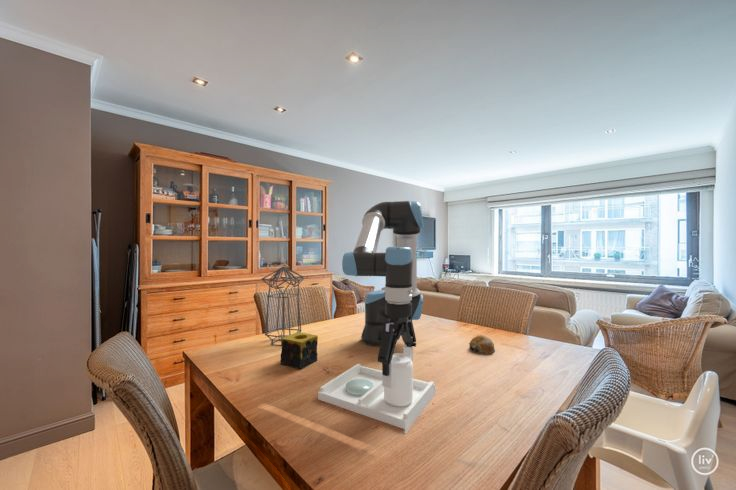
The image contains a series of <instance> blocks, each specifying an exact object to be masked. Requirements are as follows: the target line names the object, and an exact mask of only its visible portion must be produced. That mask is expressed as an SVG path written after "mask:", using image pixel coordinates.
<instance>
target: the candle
mask: <svg viewBox="0 0 736 490" xmlns="http://www.w3.org/2000/svg"><path fill="white" fill-rule="evenodd" d="M288 335H289V334H288ZM318 338H319V337H318V335H317V334H311V333H305V332H302V331H301V332H299V331H298V332H297V331H296V332H294V333H292V334H291V335H289V336H286V337H283V338H280V339H281V341H280V345H281V346H280V347H281V351H280V363H279V364H280V365H281V366H285V367H289V368H295V369H298V370H302V369H305V368H307V367H309V366H310V365H311V364H313V363H315V362H317V361H318Z"/></svg>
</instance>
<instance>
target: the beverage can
mask: <svg viewBox="0 0 736 490" xmlns="http://www.w3.org/2000/svg"><path fill="white" fill-rule="evenodd" d="M391 362H393V387H392V388H388V387H384V399H385V401H386V402H387V403H389V404H391V405H394V406H405V405H408V404H410V403H411V402H412V401H413V379H414V375H413V374H414V361H413V362H412V361H411V357H410V356H408V355H405V354H404V353H393V356H392V360H391Z"/></svg>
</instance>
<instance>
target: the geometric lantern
mask: <svg viewBox="0 0 736 490" xmlns="http://www.w3.org/2000/svg"><path fill="white" fill-rule="evenodd" d="M283 273H284V276H283ZM295 275H296V276H297V277H296V276H295ZM269 276H271V277H270V278H268V277H269ZM298 276H299V277H298ZM279 278H281V279H282V280H281V279H279ZM305 279H306V277H305V276H303V275H301V274H300V273H298V272H296V271H294V270H292V268H291V269H290V268H288V267H287V266H281V267H280V268H278V269H276V270H274V271H273V272H271V273H269V274H268V275H266V276H264V277H262V278H261V279H260V280H261V281H263V283H265V284H267V285H268V294H267V296H266V297H267V305H266V315H265V326H264V336H266V337H267V338H268V339H269V340H271V343H270V345H271V346H280V347H282V346H281V344H276V343H277V342H281V340H280V339H281V338H283V337H286V336H289V335H292V334H291V331H296V333H297V332H301V333H302V326H301V325H302V322H301V313H300V310H301V309H300V297H299V295H300V284H301V283H302V281H304V280H305ZM278 282H281V283H279V284H278ZM284 283H287V286H286V288H285V289H284V291H283V292H282V290H281V288H280V286H282V284H284ZM290 285H291V288H290V289H289V292H288V293H286V292H287V289H288V287H290ZM296 287H297V290H296ZM272 288H273V289H275V291H276V292H277V293H275V294H271V290H272ZM293 288H294V291H295V293H293V295H292V296H291V295H290V294H291V291H292V289H293ZM278 290H279V291H278ZM277 295H278V296H277ZM281 295H282V296H281ZM285 295H286V296H285ZM289 295H290V296H289ZM274 296H275V298H276V299H278V301H277V317H276V319H277V321H276V328H275V329H273V330H271V331H268V329H269V305H270V303H269V302H270V298H274ZM294 297H296V298H297V328H291V322H290V321H291V320H290V319H291V317H290V316H291V315H290V298H294ZM281 299H282V302H281V303H282V304H281V305H282V307H281V308H282V311H281V312H282V315H281V316H282V318H281V321H282V322H281V325H282V326H281V327H282V328H279V317H280V316H279V315H280V301H281ZM285 299H287V314H288V315H287V316H288V317H287V318H288V328H286V327H285V319H286V317H285V313H286V312H285V307H286V306H285V304H286V303H285ZM280 330H281V334H280V332H279V331H280ZM285 330H286V331H288V333H289V334H287V335H286V334H285V333H286V332H285ZM276 331H277V333H278V335H272V334H271V333H273V332H276ZM273 337H274V338H273ZM277 338H278V339H277Z"/></svg>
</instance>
